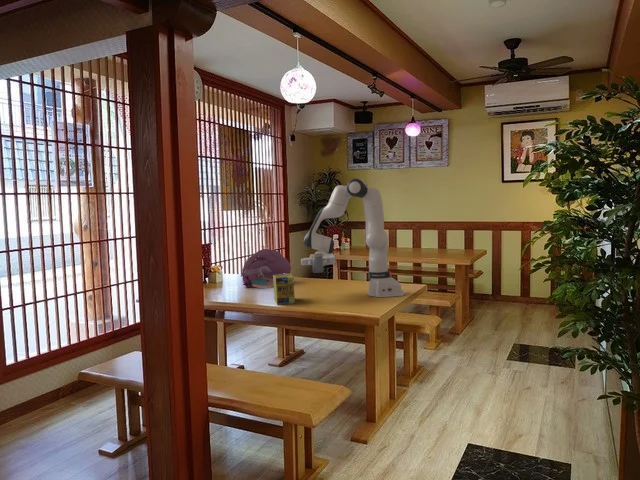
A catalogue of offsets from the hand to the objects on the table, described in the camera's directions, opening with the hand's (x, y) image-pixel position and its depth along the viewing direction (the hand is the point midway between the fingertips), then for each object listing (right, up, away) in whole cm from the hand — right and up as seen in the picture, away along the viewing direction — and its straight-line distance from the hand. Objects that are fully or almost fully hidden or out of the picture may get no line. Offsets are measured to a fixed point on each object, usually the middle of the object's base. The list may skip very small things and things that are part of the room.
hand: (317, 262), depth 281 cm
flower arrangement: (-38, -20, +69) cm, 81 cm away
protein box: (-19, -24, +11) cm, 32 cm away
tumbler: (0, -5, +1) cm, 6 cm away
